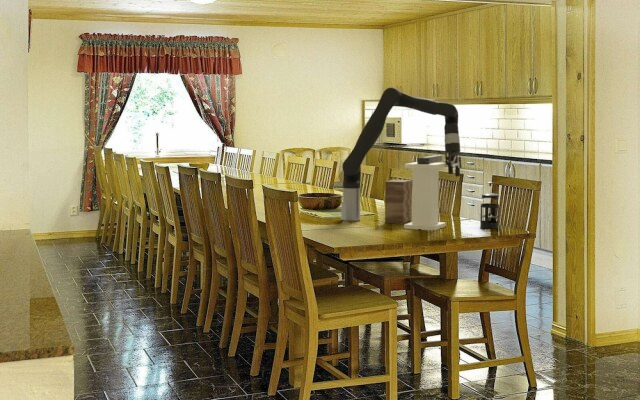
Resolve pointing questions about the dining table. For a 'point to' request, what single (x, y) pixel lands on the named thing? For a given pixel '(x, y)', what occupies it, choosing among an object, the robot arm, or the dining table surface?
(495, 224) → the french press
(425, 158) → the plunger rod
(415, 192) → the tall stand
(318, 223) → the dining table surface
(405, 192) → the low block
